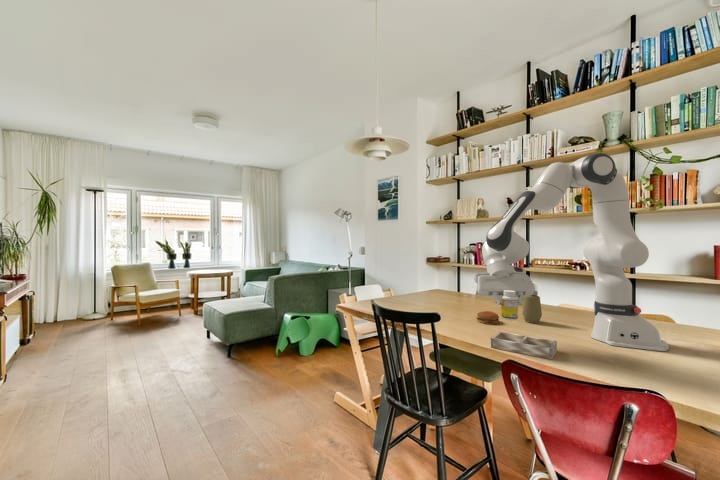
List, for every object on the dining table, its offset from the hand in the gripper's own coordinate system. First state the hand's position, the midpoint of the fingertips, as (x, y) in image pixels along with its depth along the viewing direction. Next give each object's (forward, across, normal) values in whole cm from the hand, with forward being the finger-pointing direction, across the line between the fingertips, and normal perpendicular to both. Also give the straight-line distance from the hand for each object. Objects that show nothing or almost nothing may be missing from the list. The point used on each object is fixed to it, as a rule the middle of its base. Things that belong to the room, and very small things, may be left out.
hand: (510, 304), depth 117 cm
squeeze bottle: (-14, +24, +36) cm, 45 cm away
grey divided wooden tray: (+12, +4, +10) cm, 16 cm away
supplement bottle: (+4, 0, +4) cm, 6 cm away
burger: (-13, +3, +36) cm, 38 cm away
